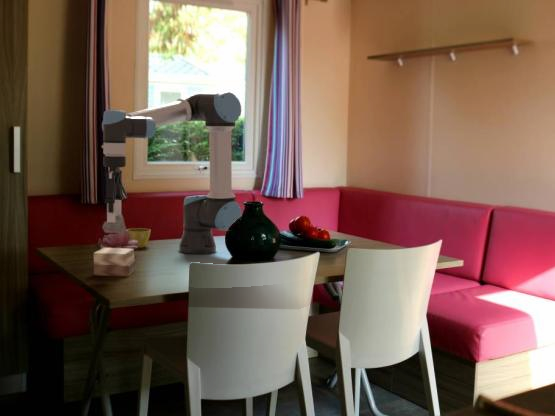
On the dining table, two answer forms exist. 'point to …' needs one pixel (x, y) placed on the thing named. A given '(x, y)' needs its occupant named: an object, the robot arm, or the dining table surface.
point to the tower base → (115, 269)
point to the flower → (118, 241)
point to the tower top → (113, 256)
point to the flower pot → (139, 236)
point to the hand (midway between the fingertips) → (114, 220)
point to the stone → (115, 225)
